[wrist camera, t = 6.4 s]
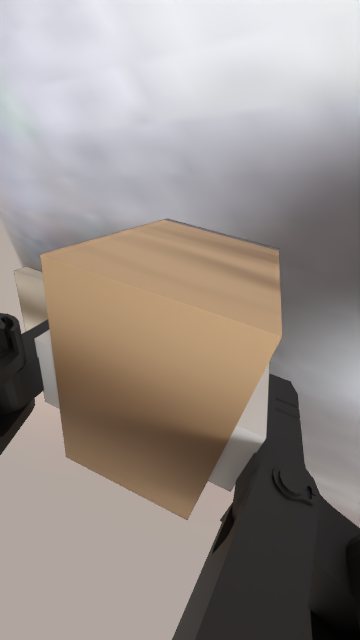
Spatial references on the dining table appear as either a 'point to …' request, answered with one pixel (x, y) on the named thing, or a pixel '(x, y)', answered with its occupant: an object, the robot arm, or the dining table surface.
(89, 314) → the brown cardboard box
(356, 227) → the dining table surface
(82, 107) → the dining table surface
